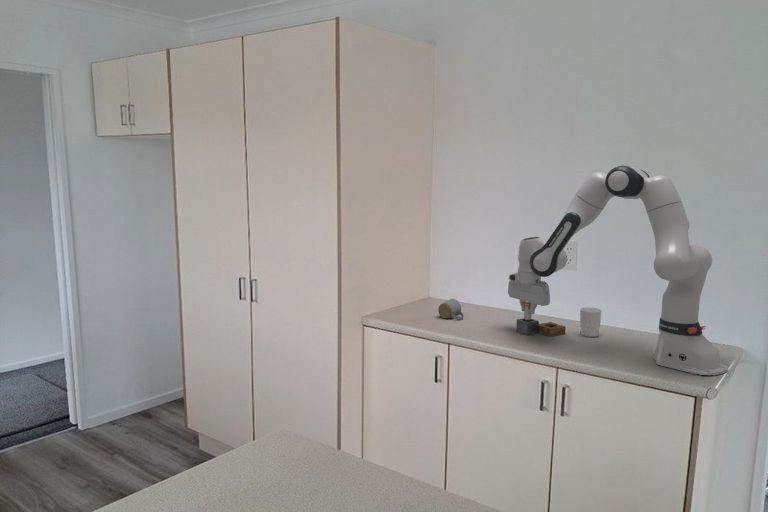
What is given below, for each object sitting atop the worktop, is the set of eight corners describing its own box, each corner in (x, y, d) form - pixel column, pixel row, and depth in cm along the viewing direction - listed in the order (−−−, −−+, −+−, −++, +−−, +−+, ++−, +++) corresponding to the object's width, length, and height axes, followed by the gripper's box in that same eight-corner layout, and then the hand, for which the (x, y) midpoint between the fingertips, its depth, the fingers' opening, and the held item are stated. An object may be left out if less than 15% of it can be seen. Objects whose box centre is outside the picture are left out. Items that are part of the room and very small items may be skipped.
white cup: (577, 335, 229) (578, 310, 227) (580, 330, 236) (582, 306, 234) (598, 338, 225) (600, 312, 224) (601, 333, 232) (602, 308, 231)
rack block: (565, 334, 231) (565, 326, 230) (550, 336, 227) (550, 329, 227) (550, 329, 238) (550, 322, 237) (535, 331, 234) (535, 324, 233)
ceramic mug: (436, 317, 256) (437, 300, 255) (446, 314, 263) (447, 297, 261) (457, 322, 250) (458, 304, 248) (467, 318, 256) (468, 301, 255)
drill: (532, 332, 233) (533, 303, 231) (526, 333, 231) (528, 304, 229) (527, 331, 235) (528, 301, 233) (521, 332, 234) (523, 302, 232)
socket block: (538, 333, 232) (538, 320, 231) (526, 335, 229) (527, 322, 228) (527, 329, 237) (528, 317, 236) (516, 331, 234) (516, 319, 234)
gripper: (554, 281, 222) (553, 317, 224) (517, 273, 240) (516, 306, 242) (542, 283, 219) (540, 319, 221) (505, 274, 237) (504, 308, 239)
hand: (527, 312), depth 232 cm, fingers closed on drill, 3 cm apart
